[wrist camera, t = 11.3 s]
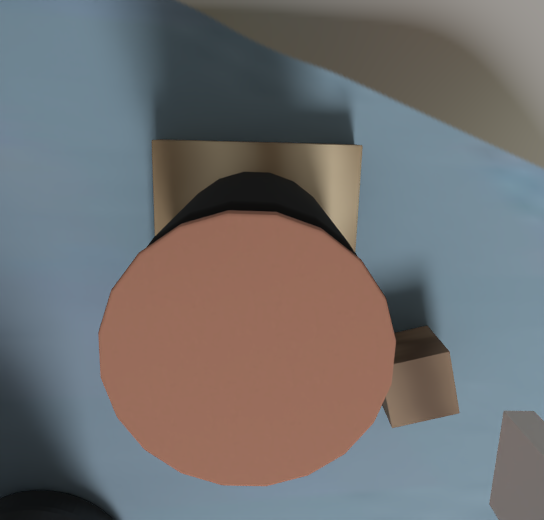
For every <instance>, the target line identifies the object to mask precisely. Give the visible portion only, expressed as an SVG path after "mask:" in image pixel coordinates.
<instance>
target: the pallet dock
mask: <svg viewBox="0 0 544 520" xmlns="http://www.w3.org/2000/svg"><path fill="white" fill-rule="evenodd" d="M361 160H362V145H355V144H318V143H279V142H240V141H202V140H163V139H160V140H152V163H153V193H154V224H155V236H156V235H157V234H158V233H159V232H160V231H161V230H162V229H163V228H164V227H165V226H166V225H167V224H168V223H169V222H170V221H171V220H172V219H173V218H174V217H175V216H176V215H177V214H178V213H179V212H180V211H181V210H182V209H183V208H184V207H185V206H186V205H187V204H188V203H189V202H190V201H191V200H192V199H193V198H194V197H195V196H196V195H197V194H198V193H199V192H201V191H202V190H204V189H205V188H207V187H208V186H209V185H211V184H212V183H214V182H215V181H217V180H218V179H220V178H224V177H227V176H230V175H234V174H237V173H241V172H270V173H272V174H275V175H278V176H281V177H283V178H286V179H289V180H291V181H294V182H295V183H296V184H298V185H299V186H300V187H301V188H303V189H304V190H305V191H306V192H308V193H309V194H310V195H311V196H313V197H314V198H315V200H316V201H317V202H318V204H319V205H320V206H321V208H322V209H323V210H324V211H325V213H326V214H327V215H328V217H329V218H330V219H331V220H332V222H333V223H334V224H335V226H336V227H337V228H338V230H339V231H340V232H341V233H342V235H343V236H344V237H345V239H346V240H347V241H348V242H349V244H350V246H351V247H352V249H353V250H354V252H355V247H356V233H357V218H358V203H359V189H360V174H361Z"/></svg>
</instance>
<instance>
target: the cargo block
mask: <svg viewBox="0 0 544 520" xmlns="http://www.w3.org/2000/svg"><path fill="white" fill-rule="evenodd" d="M394 334H395V338H396V347H395V356H394V366H393V375H392V384H391V386H390V389H389V391H388V393H387V395H386V397H385V399H384V402H383V404H382V406H383V408H384V410H385V413H386V415H387V417H388V420H389V422H390V424H391V426H392V428H395V427H399V426H404V425H408V424H413V423H417V422H422V421H426V420H431V419H435V418H440V417H444V416H449V415H453V414H458V413H459V407H458V401H457V395H456V388H455V382H454V376H453V370H452V364H451V358H450V352H449V350H448V349H447V348H446V347H445V346H444V345H443V343H442V342H441V341H440V340H439V339H438V338H437V336H436V335H435V334H434V333H433V332H432V330H431V329H430V328H429V327H428V326H423V327H418V328H414V329H410V330H405V331H401V332H397V333H394Z"/></svg>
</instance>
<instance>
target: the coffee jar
mask: <svg viewBox="0 0 544 520" xmlns="http://www.w3.org/2000/svg"><path fill="white" fill-rule="evenodd" d="M98 333H99V353H100V372H101V379H102V382H103V384H104V386H105V389H106V391H107V394H108V396H109V399H110V401H111V404H112V406H113V409H114V411H115V413H116V416H117V418H118V419H119V420H120V421H121V422H122V424H123V425H124V426H125V427H126V428H127V429H128V431H129V432H130V433H131V434H132V435H133V436H134V438H135V439H136V440H137V441H138V442H139V444H140V445H141V446H142V447H143V448H144V449H145V450H146V451H148V452H149V453H151V454H152V455H154V456H155V457H157V458H159V459H160V460H162V461H163V462H165V463H166V464H168V465H169V466H171V467H173V468H174V469H176V470H177V471H179V472H180V473H183V474H186V475H190V476H193V477H196V478H200V479H203V480H207V481H210V482H213V483H217V484H220V485H233V486H268V485H272V484H276V483H280V482H284V481H288V480H292V479H296V478H300V477H303V476H307V475H309V474H311V473H313V472H315V471H316V470H318V469H320V468H321V467H323V466H325V465H326V464H328V463H330V462H332V461H333V460H335V459H337V458H338V457H340V456H342V455H344V454H345V453H346V452H347V451H348V450H349V449H350V448H351V447H352V445H353V444H354V443H355V442H356V441H357V440H358V439H359V438H360V437H361V436H362V435H363V434H364V433H365V431H366V430H367V429H368V428H369V427H370V426H371V425H372V424H373V423H374V421H375V419H376V417H377V414H378V412H379V410H380V408H381V406H382V404H383V402H384V399H385V397H386V395H387V393H388V391H389V389H390V386H391V384H392V375H393V366H394V356H395V347H396V338H395V334H394V329H393V325H392V321H391V317H390V313H389V309H388V304H387V300H386V297H385V296H384V294H383V293H382V291H381V290H380V288H379V286H378V285H377V283H376V282H375V280H374V279H373V277H372V276H371V274H370V273H369V271H368V269H367V268H366V266H365V265H364V263H363V262H362V260H361V259H360V258H358V256H357V255H356V253H355V252H354V250H353V249H352V247H351V246H350V244H349V242H348V241H347V240H346V239H345V237H344V236H343V235H342V233H341V232H340V231H339V230H338V228H337V227H336V226H335V224H334V223H333V222H332V220H331V219H330V218H329V217H328V215H327V214H326V213H325V211H324V210H323V209H322V208H321V206H320V205H319V204H318V202H317V201H316V200H315V198H314V197H313V196H311V195H310V194H309V193H308V192H306V191H305V190H304V189H303V188H301V187H300V186H299V185H298V184H296V183H295V182H294V181H291V180H289V179H286V178H283V177H281V176H278V175H275V174H272V173H270V172H241V173H237V174H234V175H230V176H227V177H224V178H220V179H218V180H217V181H215V182H214V183H212V184H211V185H209V186H208V187H207V188H205V189H204V190H202V191H201V192H199V193H198V194H197V195H196V196H195V197H194V198H193V199H192V200H191V201H190V202H189V203H188V204H187V205H186V206H185V207H184V208H183V209H182V210H181V211H180V212H179V213H178V214H177V215H176V216H175V217H174V218H173V219H172V220H171V221H170V222H169V223H168V224H167V225H166V226H165V227H164V228H163V229H162V230H161V231H160V232H159V233H158V234H157V235H156V236H155V237H154V238H153V239H152V241H151V242H150V243H149V245H148V246H147V247H146V248H145V249H144V250H142V251H141V252H139V253H138V255H137V256H136V257H135V259H134V260H133V261H132V263H131V264H130V265H129V267H128V268H127V270H126V271H125V272H124V274H123V275H122V276H121V278H120V279H119V280H118V282H117V283H116V284H115V286H114V287H113V288H112V290H111V293H110V296H109V299H108V303H107V306H106V309H105V313H104V316H103V319H102V323H101V326H100V329H99V332H98Z"/></svg>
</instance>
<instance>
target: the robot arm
mask: <svg viewBox="0 0 544 520" xmlns="http://www.w3.org/2000/svg"><path fill="white" fill-rule="evenodd" d="M489 504H490V506H491V508H492V509H493V511H494V513H495V514H496V516H497V517H498V519H499V520H544V421H543V420H542V419H541V418H540V417H539V416H538V415H537V414H536V413H535V412H534V411H504V413H503V419H502V426H501V432H500V439H499V445H498V451H497V458H496V464H495V471H494V477H493V484H492V490H491V497H490V503H489ZM0 520H113V519H112V518H111V517H110V516H108V515H107V514H106V513H105V512H104V511H102V510H101V509H99V508H98V507H96V506H95V505H93V504H91V503H89V502H87V501H85V500H83V499H81V498H78V497H75V496H72V495H69V494H65V493H61V492H55V491H41V490H40V491H26V492H20V493H15V494H12V495H9V496H6V497H3V498H1V499H0Z"/></svg>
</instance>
